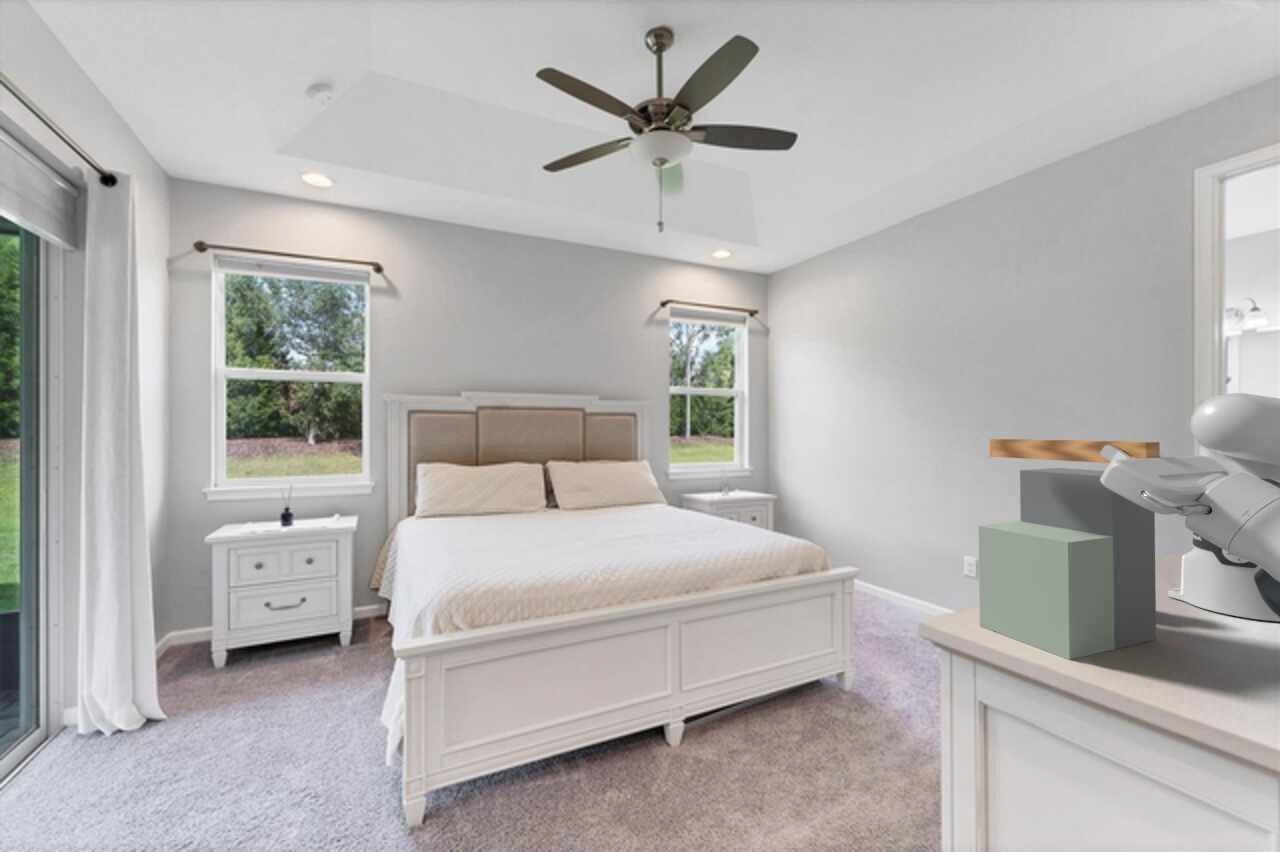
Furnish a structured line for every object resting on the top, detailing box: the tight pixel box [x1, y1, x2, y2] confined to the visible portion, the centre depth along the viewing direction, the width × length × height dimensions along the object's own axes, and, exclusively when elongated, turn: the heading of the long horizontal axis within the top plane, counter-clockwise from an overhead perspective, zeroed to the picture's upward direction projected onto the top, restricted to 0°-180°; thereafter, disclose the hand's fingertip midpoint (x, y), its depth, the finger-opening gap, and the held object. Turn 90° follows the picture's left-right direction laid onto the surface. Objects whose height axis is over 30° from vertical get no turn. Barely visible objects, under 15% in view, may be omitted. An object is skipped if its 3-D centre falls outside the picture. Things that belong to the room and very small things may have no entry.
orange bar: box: [989, 438, 1161, 464], centre depth 83 cm, size 22×3×3 cm, turn 19°
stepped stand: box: [978, 467, 1157, 660], centre depth 88 cm, size 14×20×26 cm
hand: (1115, 448), depth 76 cm, fingers closed on orange bar, 3 cm apart
